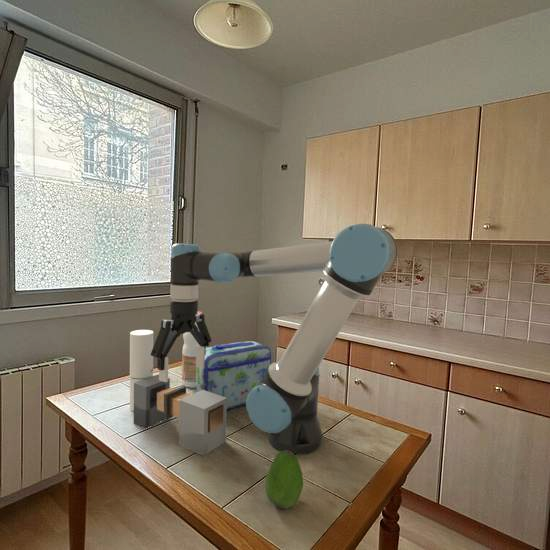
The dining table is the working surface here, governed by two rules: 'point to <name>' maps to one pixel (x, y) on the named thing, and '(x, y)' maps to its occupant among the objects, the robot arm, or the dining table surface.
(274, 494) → the avocado
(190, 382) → the fruit juice
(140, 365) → the cylindrical container
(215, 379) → the lunch box
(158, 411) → the socket
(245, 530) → the dining table surface
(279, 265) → the robot arm
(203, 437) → the sleeve
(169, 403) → the square peg
